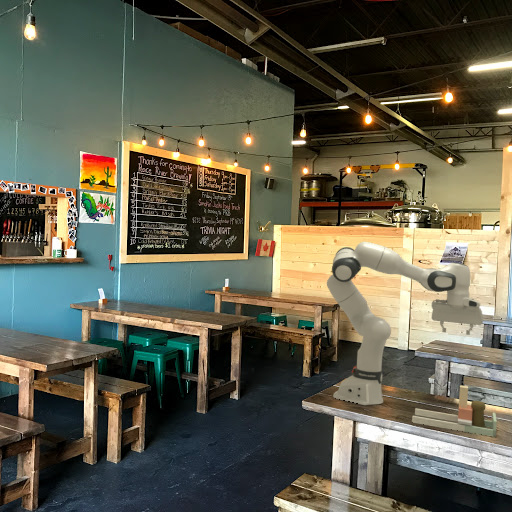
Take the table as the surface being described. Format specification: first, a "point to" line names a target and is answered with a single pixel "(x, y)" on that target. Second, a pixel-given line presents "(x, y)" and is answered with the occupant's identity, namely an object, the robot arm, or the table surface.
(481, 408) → the olive rounded upright piece
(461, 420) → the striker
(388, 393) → the table surface
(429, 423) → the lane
